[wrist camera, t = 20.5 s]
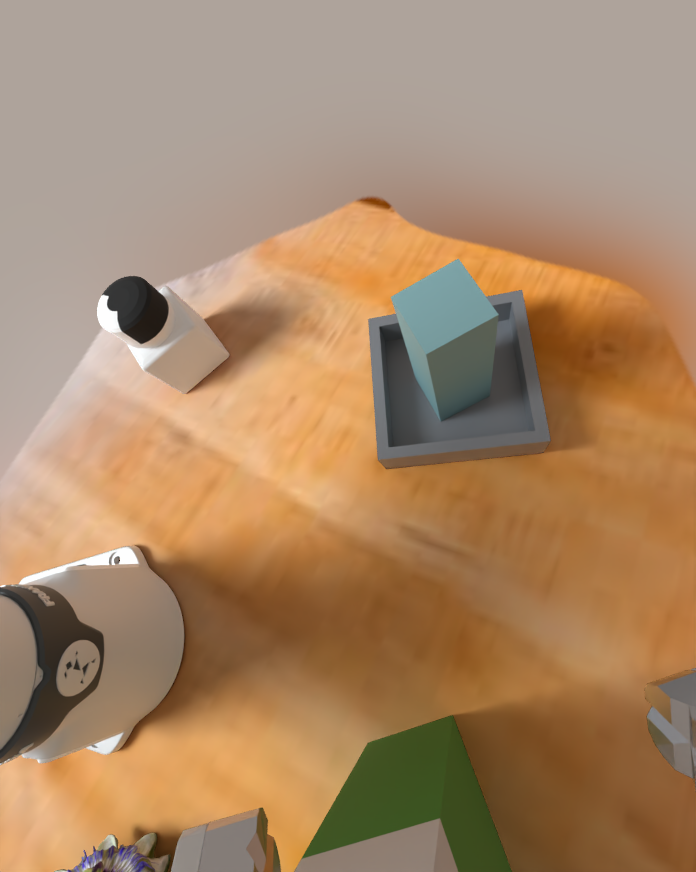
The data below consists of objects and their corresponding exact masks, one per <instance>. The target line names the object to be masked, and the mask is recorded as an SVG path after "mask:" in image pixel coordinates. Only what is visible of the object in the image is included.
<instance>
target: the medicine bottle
mask: <svg viewBox="0 0 696 872" xmlns="http://www.w3.org/2000/svg"><path fill="white" fill-rule="evenodd" d="M97 315H98V320H99V323H100V325H101V326H102V327H103V328H104V329H105V330H107V331H108V332H110V333H111V334H113V335H114V336H116V337H118V338H119V339H121V340H122V341H124V342H125V343H126V344H127V345H128V347H129V349H130V350H131V352H132V354H133V355H134V357H135V358H136V360H137V362H138V363H139V365H140V367H141V368H142V370H144V371H145V372H147V373H148V374H150V375H152V376H154V377H155V378H157V379H159V380H160V381H162V382H164V383H166V384H167V385H169V386H171V387H172V388H174V389H176V390H178V391H179V392H181V393H183V394H186V393H187V392H188V391H190V390H191V389H192V388H193V387H194V386H196V385H197V384H198V383H199V382H200V381H201V380H203V379H204V378H205V377H206V376H207V375H208V374H210V373H211V372H212V371H213V370H214V369H215V368H217V367H218V366H219V365H220V364H221V363H222V362H224V361H225V360H226V359H227V358H228V357H229V353H228V351H227V350H226V349H225V347H224V346H223V345H222V343H221V342H220V341H219V339H218V338H217V336H216V335H215V334H214V332H213V331H212V330H211V328H210V327H209V326H208V324H207V323H206V322H205V320H204V319H203V318H202V317H201V316H200V315H199V314H198V313H196V312H195V311H194V310H193V309H192V308H191V307H190V306H189V305H188V304H187V303H185V302H184V301H183V300H182V299H181V298H180V297H179V296H178V295H177V294H176V293H174V292H173V291H172V290H171V289H170V288H169V287H167V286H164V287H163V288H162V289H160V290H159V291H157V290H156V289H155V288H154V287H153V286H151V285H150V284H149V283H148V282H147V281H146V280H144V279H143V278H141V277H137V276H129V277H124V278H121V279H118V280H117V281H115V282H114V283H112V284H111V285H110V286H109V287H108V288H107V289H106V290H105V291H104V293H103V294H102V296H101V298H100V300H99V303H98V309H97Z"/></svg>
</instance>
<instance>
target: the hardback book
mask: <svg viewBox="0 0 696 872" xmlns="http://www.w3.org/2000/svg"><path fill="white" fill-rule="evenodd" d="M294 872H512V870H511V868H510V865H509V863H508V860H507V857H506V855H505V852H504V849H503V847H502V844H501V841H500V839H499V836H498V833H497V831H496V828H495V825H494V823H493V820H492V818H491V815H490V812H489V810H488V807H487V804H486V802H485V799H484V796H483V794H482V791H481V788H480V786H479V783H478V781H477V778H476V775H475V773H474V770H473V767H472V765H471V762H470V759H469V757H468V754H467V751H466V749H465V746H464V744H463V741H462V738H461V736H460V733H459V730H458V728H457V725H456V722H455V720H454V717H453V715H452V716H449V717H445V718H442V719H439V720H436V721H433V722H430V723H427V724H424V725H421V726H418V727H415V728H412V729H409V730H406V731H403V732H400V733H397V734H394V735H391V736H388V737H385V738H382V739H378V740H375V741H372V742H369V743H368V744H367V746H366V747H365V749H364V751H363V753H362V754H361V756H360V758H359V760H358V761H357V763H356V765H355V767H354V768H353V770H352V772H351V773H350V775H349V777H348V779H347V780H346V782H345V784H344V786H343V787H342V789H341V791H340V793H339V794H338V796H337V798H336V800H335V801H334V803H333V805H332V807H331V808H330V810H329V812H328V814H327V815H326V817H325V819H324V820H323V822H322V824H321V826H320V827H319V829H318V831H317V833H316V834H315V836H314V838H313V840H312V841H311V843H310V845H309V847H308V848H307V850H306V852H305V854H304V855H303V857H302V859H301V861H300V862H299V864H298V866H297V868H296V869H295V871H294Z"/></svg>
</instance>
